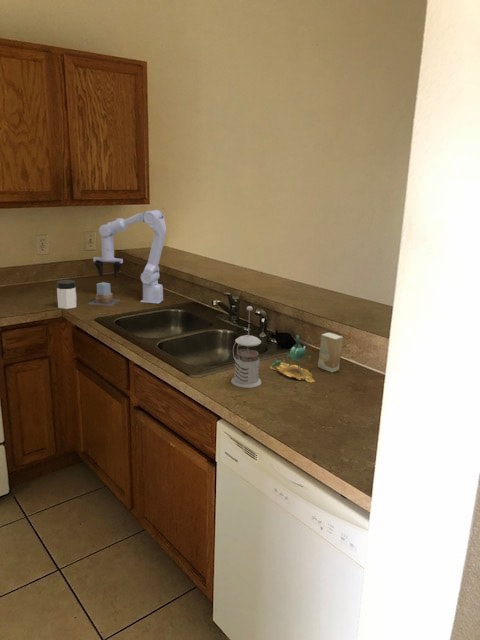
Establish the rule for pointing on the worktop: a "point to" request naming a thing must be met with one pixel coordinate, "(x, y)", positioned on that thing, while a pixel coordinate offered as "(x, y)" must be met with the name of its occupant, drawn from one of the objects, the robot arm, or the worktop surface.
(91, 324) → the worktop surface
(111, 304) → the mat
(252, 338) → the french press
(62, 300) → the jar
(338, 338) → the skincare box
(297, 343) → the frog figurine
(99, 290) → the blue cube
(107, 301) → the tan cardboard box
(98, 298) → the slab upper
